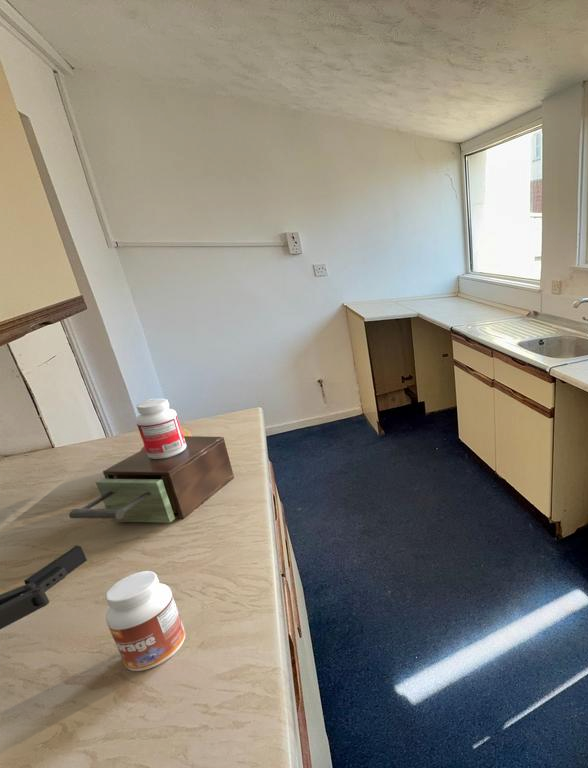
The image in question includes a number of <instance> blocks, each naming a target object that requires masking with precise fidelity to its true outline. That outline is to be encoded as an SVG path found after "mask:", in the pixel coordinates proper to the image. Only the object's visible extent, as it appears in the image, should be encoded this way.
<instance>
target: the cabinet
mask: <svg viewBox="0 0 588 768" xmlns="http://www.w3.org/2000/svg"><path fill="white" fill-rule="evenodd" d="M184 439H185V442H186V449H185V450H184V451H182V452H181V453H179V454H177V455H175V456H172V457H168V458H163V459H152V458H150V457H148V455H147V452H146V449H143V450H141V449H140V450H139V451H137V452H136V453H134V454H132V455H130V456H128V457H127V458H124V459H123V460H121V461H119V462H117V463H115V464H113V465H112V466H110V467H108V468H106V469H104V470H103V471H102V473H103V476H104V479H114V477H113V475H159V476H166V478H167V481H168V484H169V487H170V490H171V493H172V496H173V499H174V502H175V505H176V508H177V511H178V512H177V513H174V516H175V519H174V520H184V519H186V518H187V517H188V516H190V515H191V514H192V513H193V512H194V511H196V510H197V509H198V508H199V507H200V506H202V505H203V504H204V503H205V502H207V501H208V500H209V499H210V498H212V497H213V496H214V495H215V494H217V493H218V492H219V491H220V490H221V489H222V488H224V487H225V486H226V485H228V483H230V482H231V481H232V480H234V478H235V475H234V472H233V468H232V464H231V460H230V457H229V453H228V448H227V445H226V441H225V438H224V436H202V435H201V436H198V435H197V436H196V435H195V436H193V435H192V436H184Z"/></svg>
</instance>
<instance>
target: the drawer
mask: <svg viewBox="0 0 588 768" xmlns="http://www.w3.org/2000/svg"><path fill="white" fill-rule="evenodd" d="M113 477H114V479H105V478H100V479H99V480H96V481H95V484H96V487H97V490H98V491H99V494H100V496H99V497H98V498H96V499H95V500H94V499H93V500H92V501H91V502H89V503H88V504H86V505H84V506H83V507H81V508H73V509H72V510H70V512H69V513H68V517H69V518H70V519H76V520H77V519H80V520H81V519H83V520H86V519H87V520H110V522H113V523H172V522H173V521H174V520H176V519H175V516H174V513H177V512H178V511H177V508H176V505H175V502H174V499H173V496H172V493H171V490H170V487H169V484H168V481H167V478H166V476H159V475H113ZM101 502H103V504H104V507H105V508H93V507H95V506H96V505H98V504H100V503H101Z"/></svg>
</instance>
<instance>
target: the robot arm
mask: <svg viewBox="0 0 588 768" xmlns="http://www.w3.org/2000/svg"><path fill="white" fill-rule="evenodd" d="M87 561H88V559H87V556H86V554H85V552H84V550H83V547H82V546H81V545H74V546H73V547H72V548H70V549H69V550H67V551H65V552H64V553H63V554H62V555H60V556H59V557H57V558H55V559H54V560H53V561H51V562H50V563H48V564H46V565H45V566H44V567H42V568H41V569H39V570H37V571H36V572H35V573H33V574H32V575H30V576H29V577H27V578H26V579H24V580H23V582H24V585H20V586H18V587H16V588H13V589H11V590H8V591H6V592H3V593H1V594H0V630H2V629H4V628H6V627H8V626H11V625H12V624H14V623H16V622H17V621H19V620H21V619H23V618H25V617H27V616H29V615H31V614H32V613H35V612H37V611H38V610H40V609H43V608H44V607H46V606H48V605H49V604H50V599H49V598H48V596H47V593H46V592H47V591H49V590H50V589H51V588H53V587H54V586H55V585H57V584H58V583H60V582H61V581H62V580H64V579H66V578H67V576H68V575H69V574H71V573H72V572H73V571H75V570H76V569H78V568H79V567H80V566H82V565H84V564H85V563H86V562H87Z"/></svg>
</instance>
